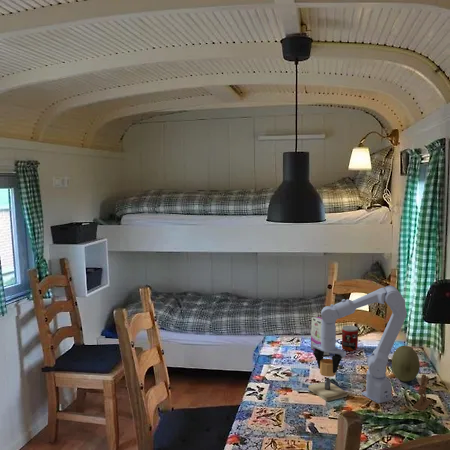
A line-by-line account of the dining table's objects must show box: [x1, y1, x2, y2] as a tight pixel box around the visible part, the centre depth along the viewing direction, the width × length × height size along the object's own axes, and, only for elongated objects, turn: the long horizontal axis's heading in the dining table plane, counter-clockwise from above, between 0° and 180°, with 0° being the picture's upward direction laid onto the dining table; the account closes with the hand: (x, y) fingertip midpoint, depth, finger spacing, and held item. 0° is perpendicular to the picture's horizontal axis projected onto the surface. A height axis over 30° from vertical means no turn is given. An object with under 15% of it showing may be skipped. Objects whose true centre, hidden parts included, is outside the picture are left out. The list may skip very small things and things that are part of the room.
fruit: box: [391, 345, 421, 383], centre depth 204 cm, size 11×11×15 cm
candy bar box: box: [310, 316, 331, 357], centre depth 237 cm, size 11×5×16 cm, turn 17°
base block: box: [307, 381, 348, 402], centre depth 193 cm, size 12×10×2 cm
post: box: [324, 377, 331, 390], centre depth 193 cm, size 2×2×5 cm
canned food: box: [341, 325, 359, 353], centre depth 241 cm, size 8×8×11 cm
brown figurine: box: [412, 374, 433, 412], centre depth 181 cm, size 9×4×12 cm, turn 138°
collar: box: [319, 358, 337, 378], centre depth 192 cm, size 6×6×5 cm
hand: (327, 370), depth 192 cm, fingers closed on collar, 6 cm apart
